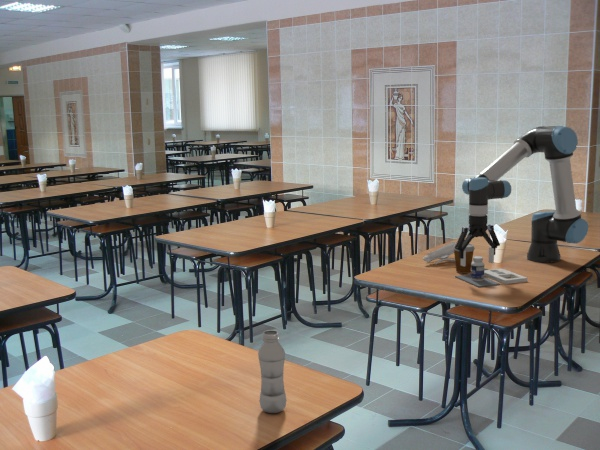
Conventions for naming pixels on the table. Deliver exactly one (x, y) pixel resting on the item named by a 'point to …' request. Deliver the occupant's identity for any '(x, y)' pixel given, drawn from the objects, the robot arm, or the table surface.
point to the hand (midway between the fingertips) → (477, 264)
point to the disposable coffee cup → (469, 256)
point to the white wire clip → (441, 254)
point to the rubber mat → (477, 283)
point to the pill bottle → (477, 269)
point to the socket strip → (504, 276)
